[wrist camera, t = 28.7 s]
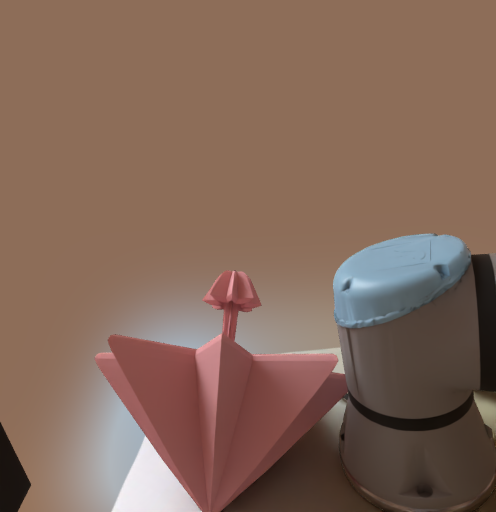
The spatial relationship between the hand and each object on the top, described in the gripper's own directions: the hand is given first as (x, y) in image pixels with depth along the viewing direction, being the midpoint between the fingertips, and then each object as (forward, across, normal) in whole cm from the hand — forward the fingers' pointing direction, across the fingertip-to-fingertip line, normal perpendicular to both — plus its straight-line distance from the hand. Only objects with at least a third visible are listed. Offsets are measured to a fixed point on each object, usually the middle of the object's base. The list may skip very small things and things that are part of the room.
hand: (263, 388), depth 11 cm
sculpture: (+41, -17, -26) cm, 52 cm away
